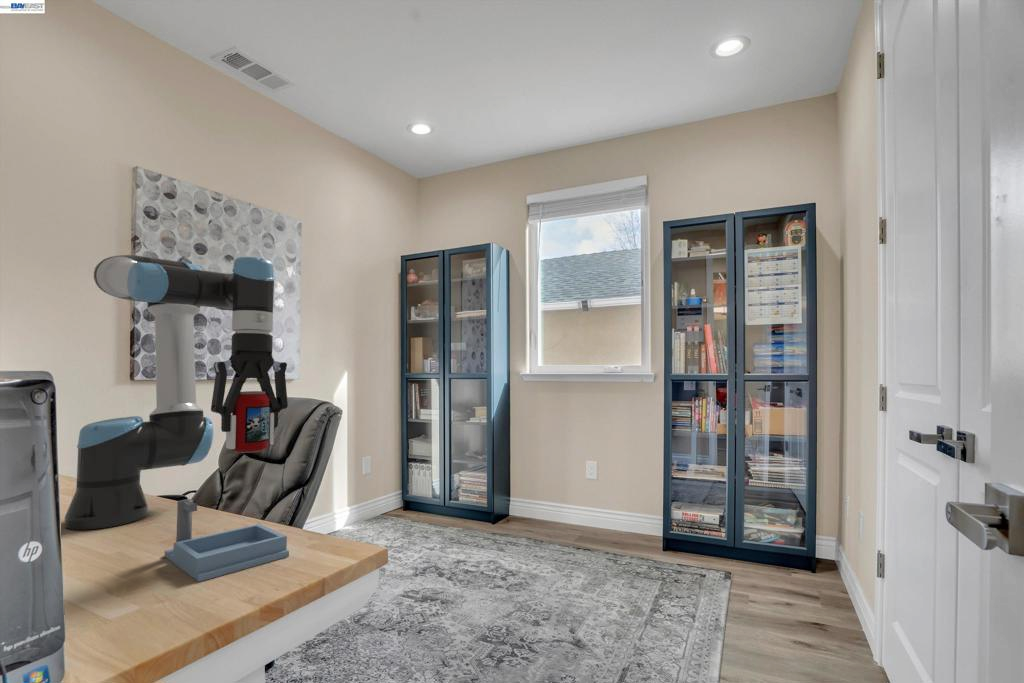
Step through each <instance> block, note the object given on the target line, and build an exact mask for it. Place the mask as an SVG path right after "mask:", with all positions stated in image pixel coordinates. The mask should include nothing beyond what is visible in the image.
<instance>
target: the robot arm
mask: <svg viewBox="0 0 1024 683" xmlns="http://www.w3.org/2000/svg"><path fill="white" fill-rule="evenodd" d="M232 267H233V268H232V270H231V271H232V273H225V272H224V273H223V272H217V271H209V270H203V269H202V268H201V267H200V266H199V265H197V264H194V263H190V262H186V261H180V260H179V261H177V260H170V259H169V260H168V259H162V258H156V257H149V256H142V255H135V254H125V255H124V254H121V255H120V254H119V255H112V256H109V257H106V258H104V259H102V260H101V261H99V263H97V264H96V266H95V267H94V271H93V280H94V282H95V284H96V286H97V287H98V288H99V289H100V290H101V291H102V292H104V293H105V294H107V295H109V296H112V297H114V298H118V299H122V300H126V301H133V302H142V303H147V311H148V312H149V313H150V314H151V315H153V316H154V331H155V332H154V333H155V334H154V337H155V346H154V347H155V386H156V387H155V388H156V390H155V392H156V395H155V396H156V398H155V399H156V401H155V402H156V407H155V409H154V410H153V411H152V412H150V413H149V416H148V417H149V421H144V419H143V417H142V416H139V415H136V416H126V417H125V416H124V417H117V418H115V417H114V418H110V419H103V420H99V421H94V422H91V423H87V424H86V425H84V426H83V427H81V428H80V431H79V435H78V441H77V445H76V448H77V462H76V463H77V466H76V485H75V486H76V488H75V493H74V494H73V496H72V499H71V501H70V504H69V506H68V508H67V511H66V513H65V515H64V523H63V525H64V526H63V527H64V528H65V526H66V528H65V529H67V528H69V529H68V530H78V531H81V530H84V531H85V530H94V529H95V530H96V529H104V528H105V529H106V528H110V527H111V528H112V527H117V526H122V525H125V524H130V523H133V522H137V521H140V520H142V519H144V518H145V517H147V516H148V514H149V512H148V511H149V506H148V504H149V503H148V501H147V499H146V496H145V493H144V491H143V488H142V485H141V471H146V470H155V469H162V468H169V467H170V468H171V467H177V466H181V467H182V466H187V465H191V464H197V463H200V462H203V460H204V459H205V458H207V456H208V454H209V452H210V450H211V448H212V444H213V440H214V426H213V422H212V419H211V418H209V417H207V416H204V409H202V408H201V407H200V406H199V405H198V404H197V390H196V389H197V388H196V387H197V386H196V384H197V383H196V355H195V354H196V353H195V328H194V327H195V324H194V323H195V322H194V320H195V319H194V317H195V316H196V315H197V314H198V313H199V312H200V311H201V309H200V308H201V307H208V308H214V309H216V310H220V311H230V312H231V311H232V318H231V331H233V332H234V333H233V334H232V335H231V348H230V349H231V355H230V357H229V358H228V360H224V361H216V362H214V363H213V368H214V371H215V377H214V385H213V392H212V397H211V398H212V399H211V406H210V411H211V412H212V413H215V414H219V415H220V417H221V419H220V420H221V422H220V423H221V424H220V428H221V429H220V430H221V432H222V433H225V448H226V449H228V450H233V449H235V439H236V415H232V411H233V409H234V406H235V404H236V401H237V399H238V396H239V394H240V392H242V389H243V386H244V384H245V383H246V381H247V379H256V381H257V383H258V384H259V386H260V389H261V390H260V391H266V394H267V396H268V398H269V445H268V446H271V445H274V444H275V442H274V439H275V437H274V436H275V435H274V433H275V432H274V430H275V429H276V428H278V426H279V413H280V412H281V411H283V410H284V409H287V408H288V406H289V404H288V402H289V401H288V395H287V394H288V393H287V380H286V371H287V367H288V364H287V362H283V361H281V362H280V361H277V360H275V359H274V357H273V346H274V345H273V342H274V341H273V340H274V339H273V337H274V336H273V335H272V334H271V333H272V332H273V331H274V327H273V326H274V296H275V295H274V294H275V292H274V291H275V290H274V288H275V279H276V278H275V273H274V272H275V270H274V269H275V268H274V267H275V266H274V264H273V262H272V261H271V260H269V259H266V258H262V257H256V256H240V257H237V258H236V259H234V261H233V266H232ZM230 367H231V368H232V370H233V371H234V375H233V377H232V383H231V385H230V387H229V390H228V392H227V394H226V397H225V392H226V385H227V378H228V377H227V376H228V373H227V372H228V371H229V370H230ZM271 368H272V370H273V372H274V373H273V374H274V377H273V378H274V386H275V388H274V389H275V392H274V390H273V387H272V383H271V377H270V374H269V371H270V370H271Z"/></svg>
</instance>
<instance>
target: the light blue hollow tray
mask: <svg viewBox="0 0 1024 683" xmlns="http://www.w3.org/2000/svg"><path fill="white" fill-rule="evenodd" d="M193 501H194V500H193V499H190V498H189V499H186V498H185V499H182V500H180V499H179V500H178V501H177V506H176V507H177V508H176V509H177V512H176V515H177V516H176V535H175V536H176V537H175V538H176V540H175V542H173V548H170V549H166V550H164V557H165V558H166V559H168V560H169V561H170V562H171V563H173V564H174V565H175V566H177V567H179V568H180V569H181V570H182V571H183V572H185V573H186V574H188V576H190V577H192V578H193V579H194V580H196V581H197V582H198V583H200V582H204V581H206V580H207V581H208V580H210V579H214V578H218V577H221V576H222V577H223V576H224V575H227V574H232V573H234V572H239V571H243V570H246V569H250V568H252V567H253V568H254V567H257V566H260V565H264V564H266V563H271V562H274V561H277V560H281V559H284V558H289V557H290V550H288V549H287V545H288V542H287V539H288V536H287V535H285V534H283V533H281V532H278V531H276V530H274V529H272V528H269V527H268V526H266V525H264V524H261V523H256V524H253V525H248V526H247V525H246V526H242V527H239V528H235V529H229V530H224V531H221V532H217V533H212V534H207V535H203V536H199V537H198V536H197V537H195V538H194V537H192V535H193V534H192V531H193V528H192V527H193V512H197V511H198V503H195V502H193Z"/></svg>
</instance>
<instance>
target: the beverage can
mask: <svg viewBox="0 0 1024 683" xmlns="http://www.w3.org/2000/svg"><path fill="white" fill-rule="evenodd" d="M231 415H236V439H235V449H232V450H233V451H235V452H236V453H240V454H248V453H249V454H251V453H258V452H263V451H264V450H266V449H267V448H268V447H269V446H270V445H269V398H268V396H267V394H266V391H262V390H256V391H255V390H254V391H251V390H250V391H246V390H245V391H240V394H239V396H238V399H237V401H236V404H235V406H234V409H233V411H232V414H231Z"/></svg>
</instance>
